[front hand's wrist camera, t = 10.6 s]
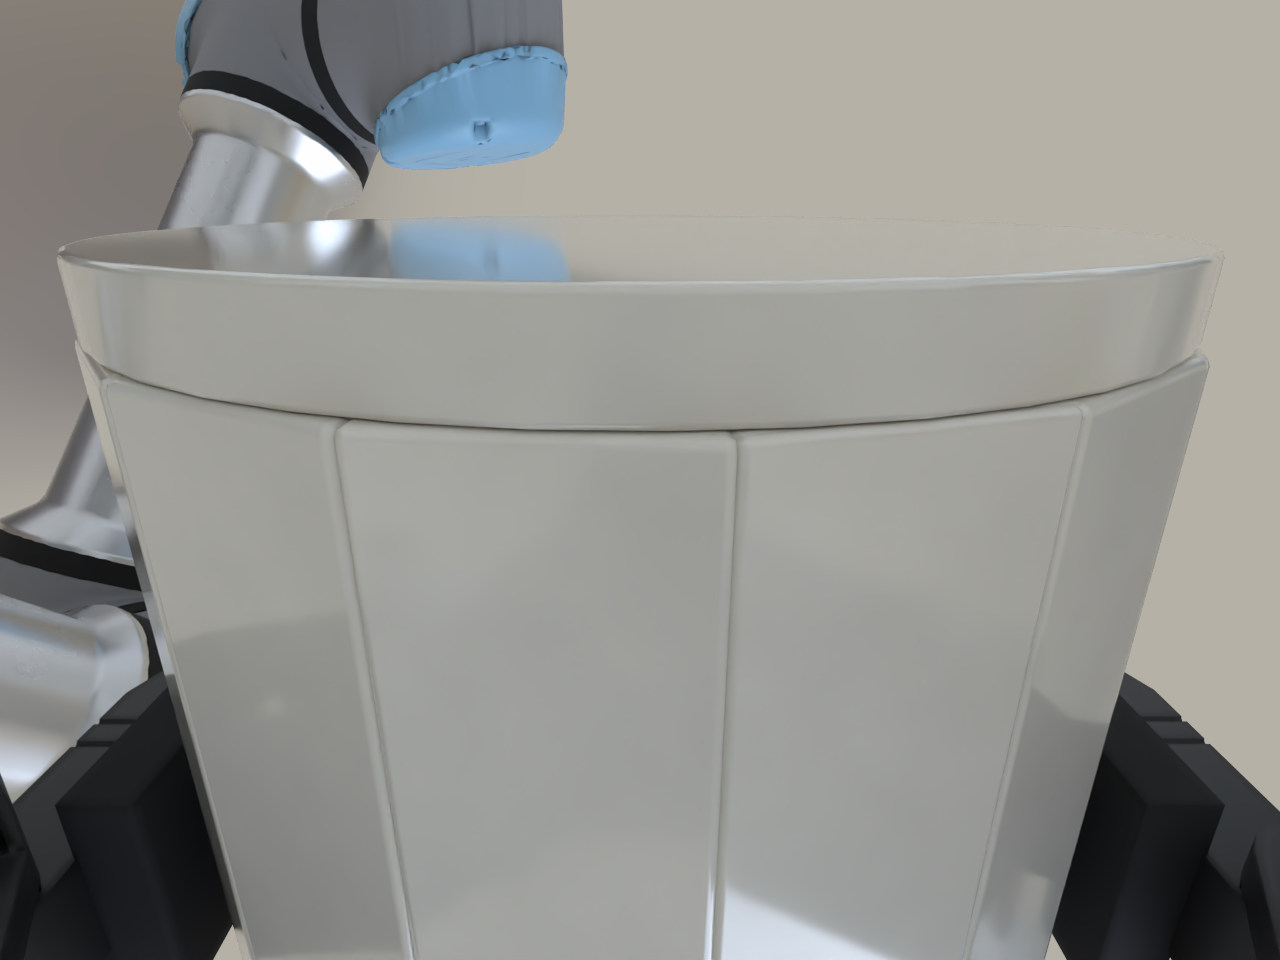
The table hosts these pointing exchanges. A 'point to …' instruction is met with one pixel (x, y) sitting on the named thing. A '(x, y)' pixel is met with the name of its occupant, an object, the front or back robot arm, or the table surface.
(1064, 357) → the grey paneled bucket
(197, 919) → the front robot arm
